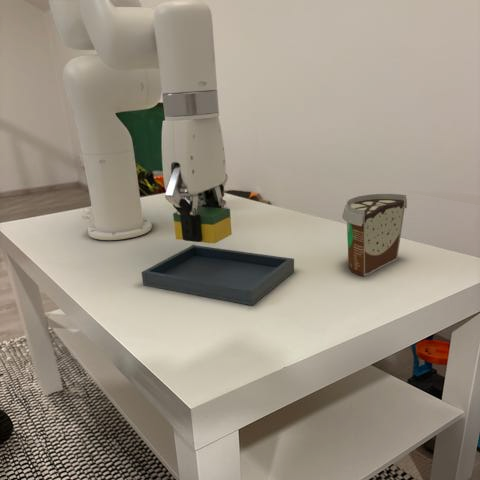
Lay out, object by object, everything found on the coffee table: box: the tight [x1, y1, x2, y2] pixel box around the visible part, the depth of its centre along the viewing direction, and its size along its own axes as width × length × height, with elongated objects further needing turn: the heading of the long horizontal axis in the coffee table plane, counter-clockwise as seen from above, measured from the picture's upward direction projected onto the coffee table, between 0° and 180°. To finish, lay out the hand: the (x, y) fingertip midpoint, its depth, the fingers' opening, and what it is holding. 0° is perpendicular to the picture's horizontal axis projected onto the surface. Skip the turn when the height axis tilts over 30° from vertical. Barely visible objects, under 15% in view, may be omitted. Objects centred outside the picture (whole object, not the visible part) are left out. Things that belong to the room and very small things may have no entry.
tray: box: [141, 244, 295, 306], centre depth 77 cm, size 19×14×2 cm
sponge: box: [172, 206, 233, 245], centre depth 77 cm, size 7×5×4 cm
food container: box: [342, 193, 408, 278], centre depth 78 cm, size 12×6×10 cm, turn 134°
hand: (203, 234), depth 78 cm, fingers closed on sponge, 5 cm apart
